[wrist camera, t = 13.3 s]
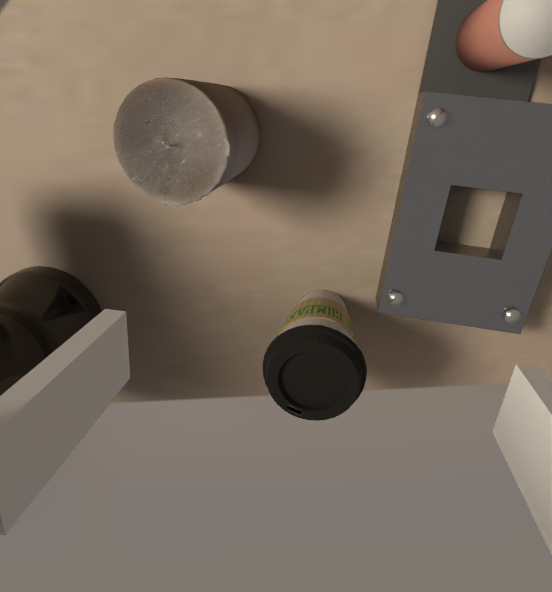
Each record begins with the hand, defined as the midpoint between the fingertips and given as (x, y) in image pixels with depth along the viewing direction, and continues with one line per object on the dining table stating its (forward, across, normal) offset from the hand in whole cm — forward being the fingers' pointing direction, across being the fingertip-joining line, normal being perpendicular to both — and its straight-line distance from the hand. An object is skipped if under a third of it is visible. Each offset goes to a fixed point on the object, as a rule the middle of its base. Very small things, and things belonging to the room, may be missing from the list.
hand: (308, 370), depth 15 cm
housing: (+35, +15, -1) cm, 38 cm away
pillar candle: (+36, -13, +5) cm, 39 cm away
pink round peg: (+35, +12, +15) cm, 40 cm away
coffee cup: (+36, +1, -14) cm, 39 cm away
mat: (+35, +12, +16) cm, 40 cm away
